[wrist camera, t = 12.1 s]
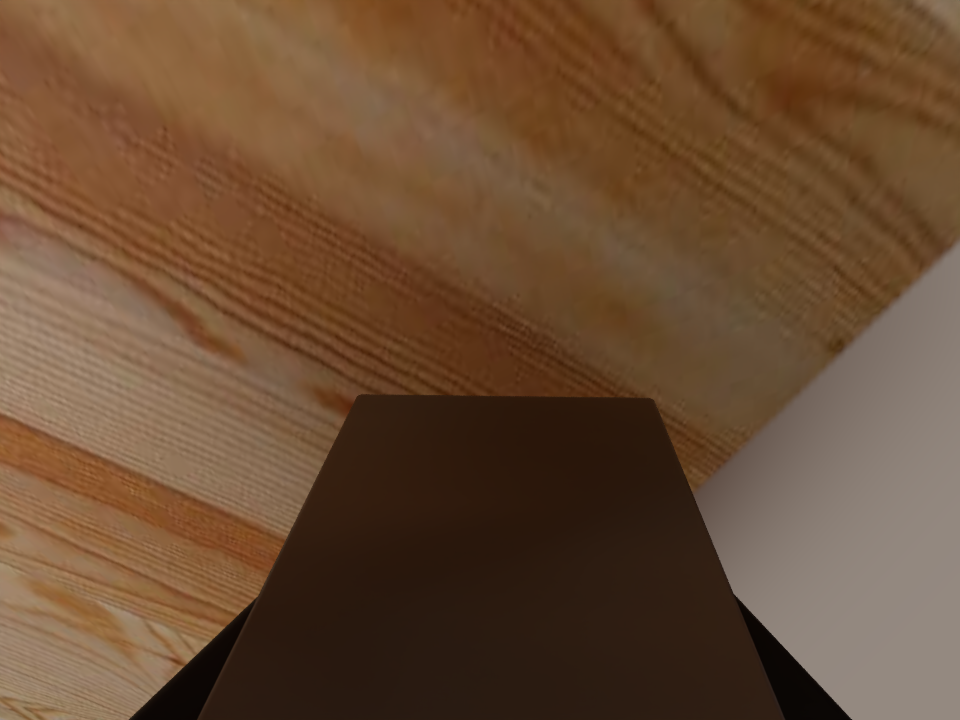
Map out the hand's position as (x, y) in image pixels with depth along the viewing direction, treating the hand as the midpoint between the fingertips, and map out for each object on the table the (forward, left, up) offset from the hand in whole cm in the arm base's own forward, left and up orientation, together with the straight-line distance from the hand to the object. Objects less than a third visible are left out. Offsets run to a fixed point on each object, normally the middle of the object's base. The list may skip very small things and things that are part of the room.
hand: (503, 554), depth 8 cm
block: (0, 0, -1) cm, 1 cm away
